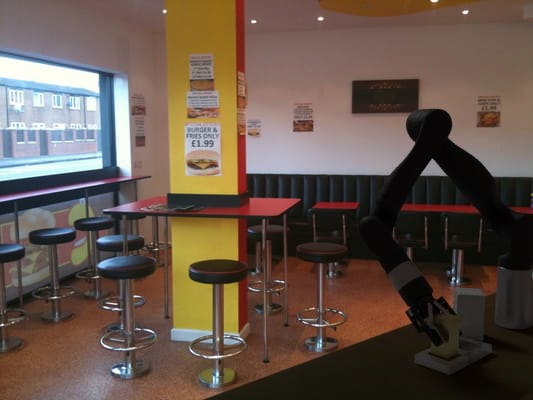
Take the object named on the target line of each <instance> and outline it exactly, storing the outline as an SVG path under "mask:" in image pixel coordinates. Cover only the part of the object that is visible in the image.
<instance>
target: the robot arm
mask: <svg viewBox="0 0 533 400" xmlns="http://www.w3.org/2000/svg"><path fill="white" fill-rule="evenodd" d="M405 128H406V134H407V135H408V136H409V138H410V139H411V140H412V142H414V145H413V146H412V148H411V150H410V151H409V153H408V154H407V155H406V156H405V158H404V159H402V161H401V162H400V163H399V164H398V165H397V166H396V167H395V168H394V169H393V170H392V171H391V172H390V174H389V175H388V177H387V178H386V180H385V181H384V183H383V185H382V186H381V188H380V190H379V192H378V194H377V196H376V198H375V201H374V203H375V205H374V206H375V208H374V211H373V213H372V215H366V216H364V217H362V218H361V219H360V221H359V223H358V225H357V233H358V235H359V237H360V239H361V240H362V242H363V243H364V244H365V246H366V247H367V248H368V249H369V251H370V252H371V253H372V255H374V257H375V258H376V260H377V262H379V264H380V266H381V268H382V269H383V271H384V272H385V274H386V275H387V276H388V278H389V280H390V282H391V284H392V287H394V289H395V290H396V292H397V293H398V295H399V296H400V297H401V299H402V301H403V302H404V304H405V305H406V306H407V307H408V309H407V310H405V312H404V313H405V315H406V317H407V318H408V320H409V321H410V322H411V324H412V326H413V327H414V329H415V330H416V332H417V333H418V334H421V333H423V334H425V335H426V336H427V337H428V339H429V340H430V341H432V343H433V344H434V345H435V346H436V347H438V346H440V345H442V344H443V340H442V338H441V337H440V336H439V334H438V333H437V331H436V330H435V329H433V323H432V321H433V315H436V314H438V313H441V312H444V313H448V314H452V315H455V316H457V315H456V313H455V312H454V310H453V307H451V305H450V303H448V301H447V300H446V298H445V297H444V296H443V295H441V296H439V297H438V298H435V296H433V293H434V289H433V287H432V286H431V285H430V283H429V282H428V280H427V279H426V277H425V276H424V274H423V273H422V272H421V271H420V269H419V268H418V266H417V265H416V264H415V263H414V262H413V261H412V259H411V258H410V256H409V255H408V254H407V252H406V251H405V250H404V249H403V247H402V246H401V245H400V244H398V242H396V240H395V238H394V236H393V235H392V233H393V231H394V229H395V226H396V223H397V220H398V216H399V214H400V212H401V210H402V208H403V207H404V205H405V202H406V201H407V199H408V197H409V195H410V194H411V191H412V190H413V188H414V186H415V185H416V183H417V181H418V179H419V178H420V176H421V175H422V173H423V172H424V170H425V169H426V168H427V166H428V165H429V164H430V163H431V161H432V160H433V161H434V162H435V163H436V165H437V166H438V167H439V168H440V170H441V171H442V172H444V174H445V175H446V176H447V177H448V178H449V180H450V181H451V182H452V184H453V185H454V186H455V187H456V188H457V189H458V191H459V192H460V193H461V194H462V195H463V196H464V197H465V198H466V199H467V200H468V201H469V202H470V203H471V204H472V206H473V207H474V208H475V209H476V210H477V212H479V214H480V215H481V217H483V219H484V221H486V223H487V225H488V226H489V228H490V230H491V231H492V232H493V233H494V234H495V236H496V237H497V238H498V239H499V240H501V241H503V242H505V243H509V244H510V247H509V251H508V252H507V253H505V254H504V253H503V254H501V255H499V256H498V258H497V268H496V270H497V274H496V288H495V289H496V292H495V307H494V323H495V325H496V326H499V327H501V328H505V329H512V330H526V329H528V328H531V327H533V293H532V283H533V282H532V281H533V279H532V278H533V215H532V214H529V213H527V212H526V213H525V212H520V211H515V210H512V209H510V208H509V207H508V206H507V205H506V204H505V203H504V202H503V201H502V200H501V199H500V197H499V195H498V192H497V183H496V180H495V178H494V176H493V175H492V173H491V172H490V171H489V170H488V168H487V167H486V166H485V164H483V163H482V161H480V160H479V159H478V158H477V157H475V155H473V154H471V153H470V152H468V151H467V150H465V149H464V148H463V147H460V146H459V145H458V144H457V143H454V142H453V141H452V139H450V138H449V137H450V135H451V132H452V130H453V118H452V116H451V115H450V114H449V112H448V111H446V110H444V109H442V108H421V109H416V110H414V111H412V112H411V113H409V115H407V118H406V121H405ZM460 336H462V332H461V330H460V329H459V337H460Z"/></svg>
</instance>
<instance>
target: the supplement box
mask: <svg viewBox="0 0 533 400" xmlns="http://www.w3.org/2000/svg"><path fill="white" fill-rule="evenodd" d="M452 300H453V301H452V309H453V310H454V312H455V313H456V315H457V316H459V317H462V322H461V323H460V326H459V329H460V330H461V332H462V336H463V337H467V338H470V339H474V340H477V341H480V342H484V331H485V310H486V295H485V294H484V292H483V290H482V289H480V288H470V287H469V288H467V287H466V288H465V287H464V288H463V287H454V288H453V299H452Z"/></svg>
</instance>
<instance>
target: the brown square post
mask: <svg viewBox="0 0 533 400" xmlns="http://www.w3.org/2000/svg"><path fill="white" fill-rule="evenodd" d="M448 313H449V312H447V313H444V312H441V311H440V313H438V314H436V315H433V321H432V323H433V329H435V330H436V331H437V333H438V334H439V336H440V337H441V338H442V340H443V344H442V345H440V346H438V347H436V346H435V345H434V344H433V343H432V341H431V340H430V341H431V343H430V344H431V347H430V348H431V355H432V356H435V357H438V358H440V359H443V360H446V361H451V360H453V359H455V358H457V357H458V348H459V326H460V323H461V322H462V317H459V316H455V315H452V314H451V313H449V314H448Z"/></svg>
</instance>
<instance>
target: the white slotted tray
mask: <svg viewBox="0 0 533 400" xmlns="http://www.w3.org/2000/svg"><path fill="white" fill-rule="evenodd" d="M492 349H493V344H490V343H488V342H487V343H486V342H484V341H478V340H475V339H471V338H468V337H463V336H460V337H459V348H458V357H457V358H455V359H453V360H451V361H446V360H443V359H440V358H438V357H435V356H432V355H431V347H429V348H426V349H424V350H422V351H419V352H417V353H415V354H414V364H416V365H419V366H423V367H426V368H428V369H431V370H433V371H436V372H439V373H442V374H445V375H448V376H451V375H452V374H454V373H457V372H458V371H459V370H462V369H464V368H465V367H468V366H469V365H471V364H473V363H475V362H477V361H479V360H481V359H482V358H484V357H486V356H488V355H490V354H492V352H493V351H492Z"/></svg>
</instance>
